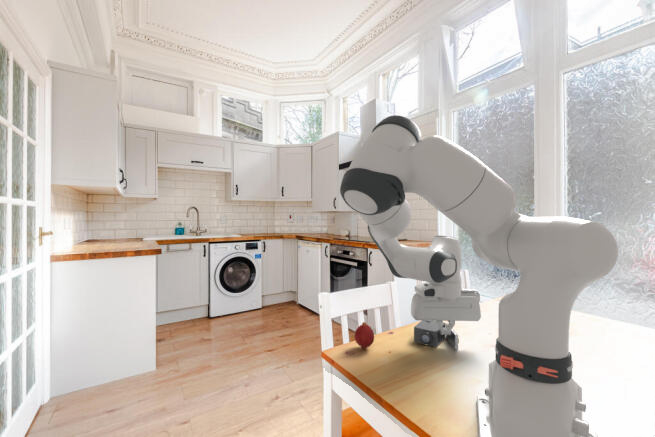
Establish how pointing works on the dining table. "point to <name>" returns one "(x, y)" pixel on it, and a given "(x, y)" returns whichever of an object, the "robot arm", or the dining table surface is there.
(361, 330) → the onion
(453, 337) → the side door
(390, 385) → the dining table surface
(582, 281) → the robot arm
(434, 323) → the camera body
